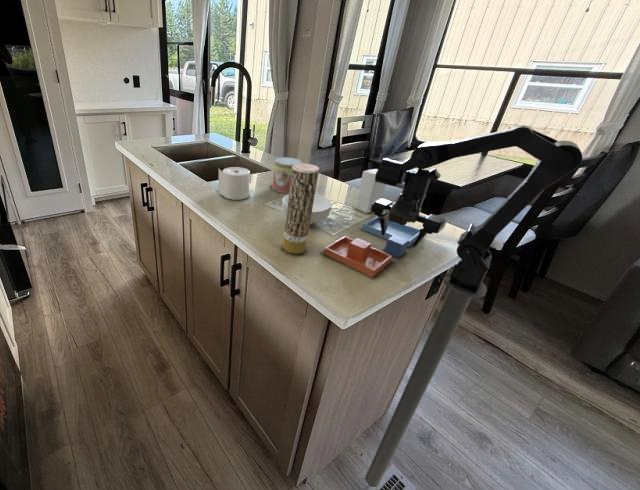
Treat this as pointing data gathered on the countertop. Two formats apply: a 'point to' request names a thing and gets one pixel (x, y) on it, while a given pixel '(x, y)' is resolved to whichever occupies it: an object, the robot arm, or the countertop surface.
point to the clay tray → (367, 266)
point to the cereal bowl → (314, 208)
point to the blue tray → (392, 230)
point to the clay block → (358, 249)
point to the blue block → (396, 246)
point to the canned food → (283, 173)
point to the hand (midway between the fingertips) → (398, 240)
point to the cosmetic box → (369, 191)
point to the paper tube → (300, 207)
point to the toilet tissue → (234, 183)
